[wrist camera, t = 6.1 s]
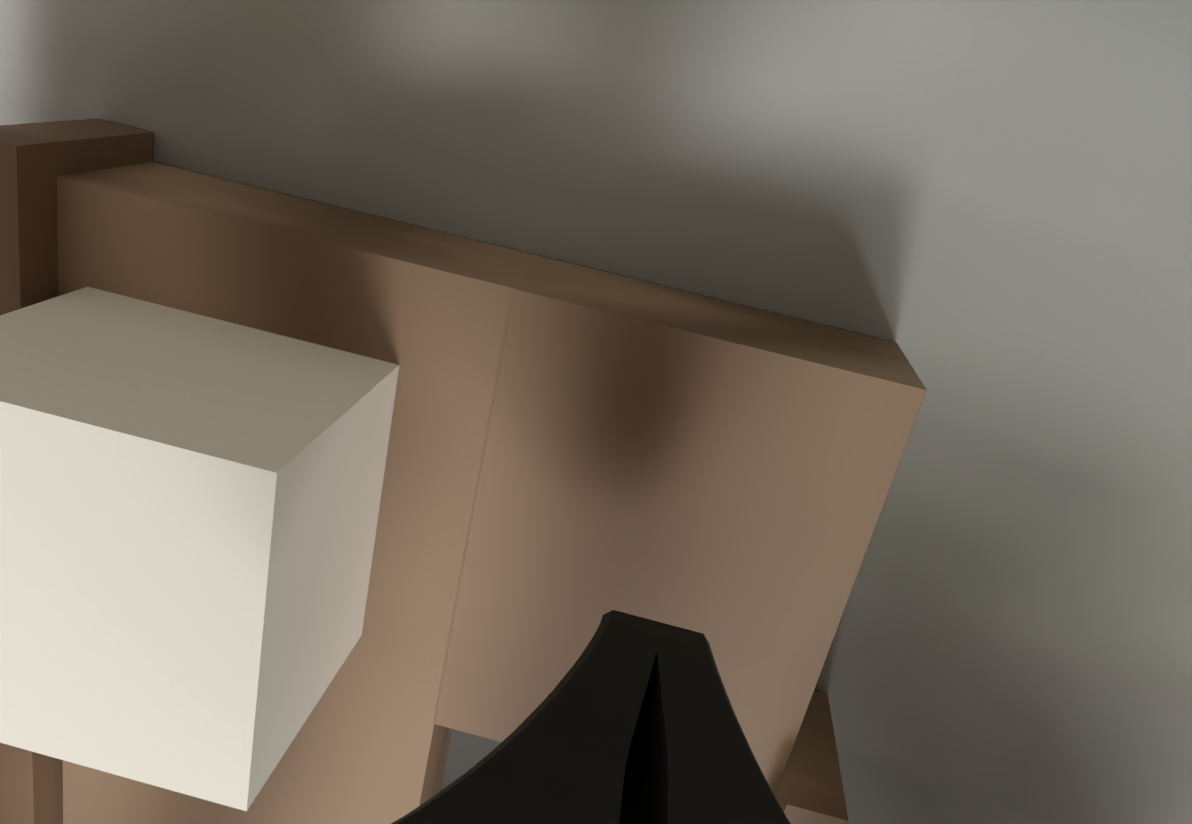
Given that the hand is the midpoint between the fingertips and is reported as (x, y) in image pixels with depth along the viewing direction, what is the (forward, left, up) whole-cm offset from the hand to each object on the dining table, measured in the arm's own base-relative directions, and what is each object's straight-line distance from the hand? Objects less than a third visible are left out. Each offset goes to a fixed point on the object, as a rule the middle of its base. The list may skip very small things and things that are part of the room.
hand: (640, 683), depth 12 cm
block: (+7, 0, -3) cm, 8 cm away
